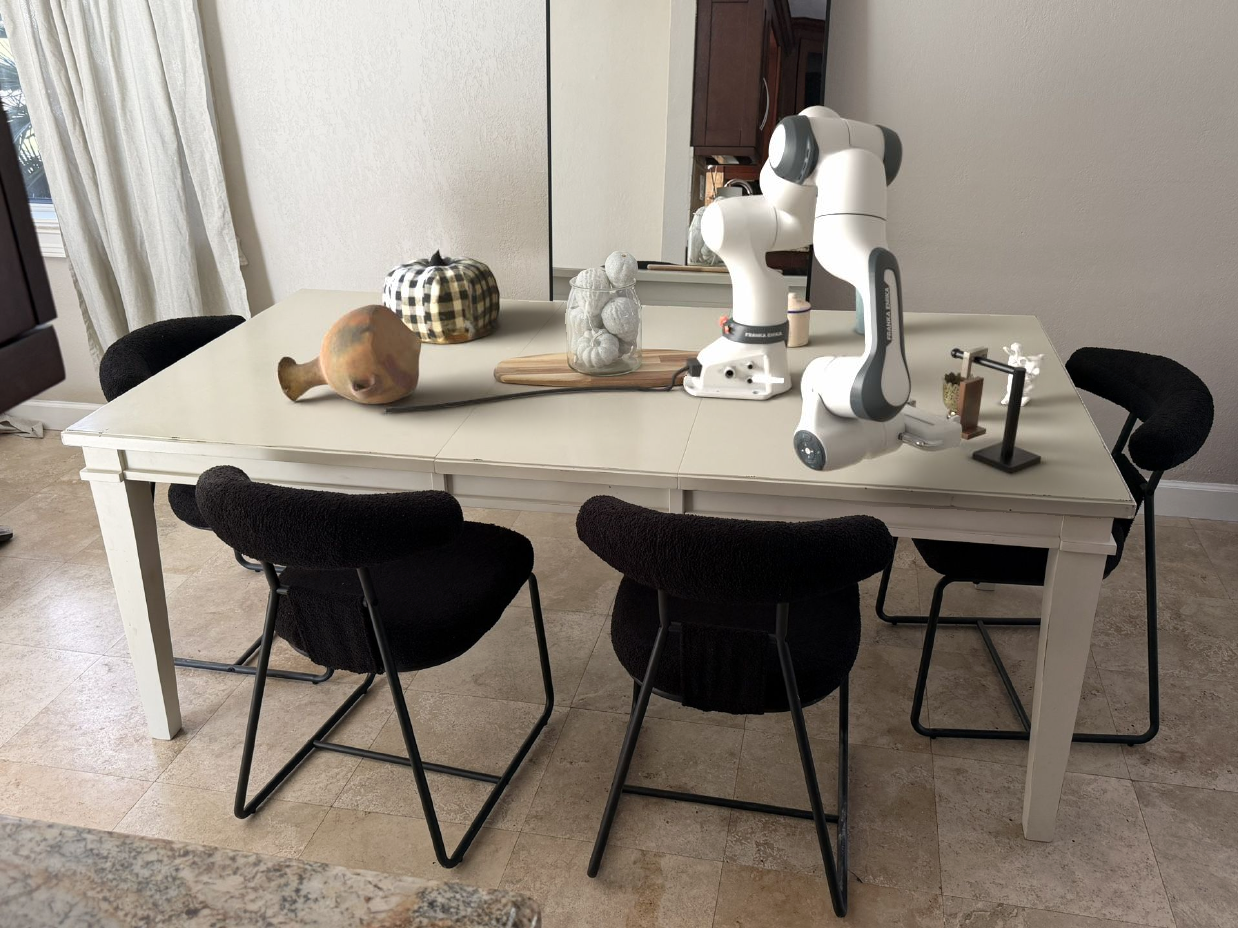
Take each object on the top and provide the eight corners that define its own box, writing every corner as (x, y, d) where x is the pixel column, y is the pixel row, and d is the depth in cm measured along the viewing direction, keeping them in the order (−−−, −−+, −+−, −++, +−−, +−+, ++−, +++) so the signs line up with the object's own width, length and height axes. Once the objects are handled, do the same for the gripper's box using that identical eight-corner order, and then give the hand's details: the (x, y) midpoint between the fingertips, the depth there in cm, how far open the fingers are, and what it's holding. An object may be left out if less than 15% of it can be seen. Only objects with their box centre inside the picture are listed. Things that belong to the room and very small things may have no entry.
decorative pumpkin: (390, 315, 266) (382, 238, 257) (501, 310, 268) (496, 234, 260) (378, 348, 239) (368, 264, 231) (501, 343, 242) (496, 259, 233)
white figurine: (1000, 408, 198) (1009, 349, 193) (989, 396, 204) (998, 339, 199) (1043, 408, 198) (1053, 349, 193) (1032, 396, 204) (1041, 338, 199)
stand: (1011, 473, 170) (1026, 378, 163) (926, 440, 183) (937, 351, 177) (1040, 462, 174) (1056, 369, 167) (955, 430, 187) (967, 343, 181)
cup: (972, 427, 189) (978, 387, 186) (933, 420, 192) (937, 380, 189) (982, 414, 195) (988, 375, 191) (944, 408, 198) (948, 369, 195)
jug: (447, 390, 211) (318, 406, 218) (430, 296, 208) (300, 315, 215) (406, 405, 192) (267, 422, 199) (387, 302, 188) (246, 322, 195)
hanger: (967, 440, 178) (978, 356, 171) (944, 431, 181) (954, 348, 175) (985, 433, 180) (997, 350, 174) (963, 425, 184) (973, 343, 178)
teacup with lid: (806, 336, 243) (809, 288, 239) (811, 347, 235) (814, 298, 230) (756, 336, 244) (758, 288, 239) (759, 347, 236) (761, 298, 231)
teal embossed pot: (898, 337, 242) (903, 287, 237) (856, 337, 242) (860, 288, 237) (889, 325, 251) (893, 277, 246) (848, 325, 251) (852, 277, 246)
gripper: (930, 430, 157) (987, 411, 164) (835, 393, 173) (891, 378, 180) (925, 467, 160) (982, 447, 167) (832, 428, 175) (887, 411, 182)
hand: (934, 411), depth 174 cm, fingers open, 8 cm apart
